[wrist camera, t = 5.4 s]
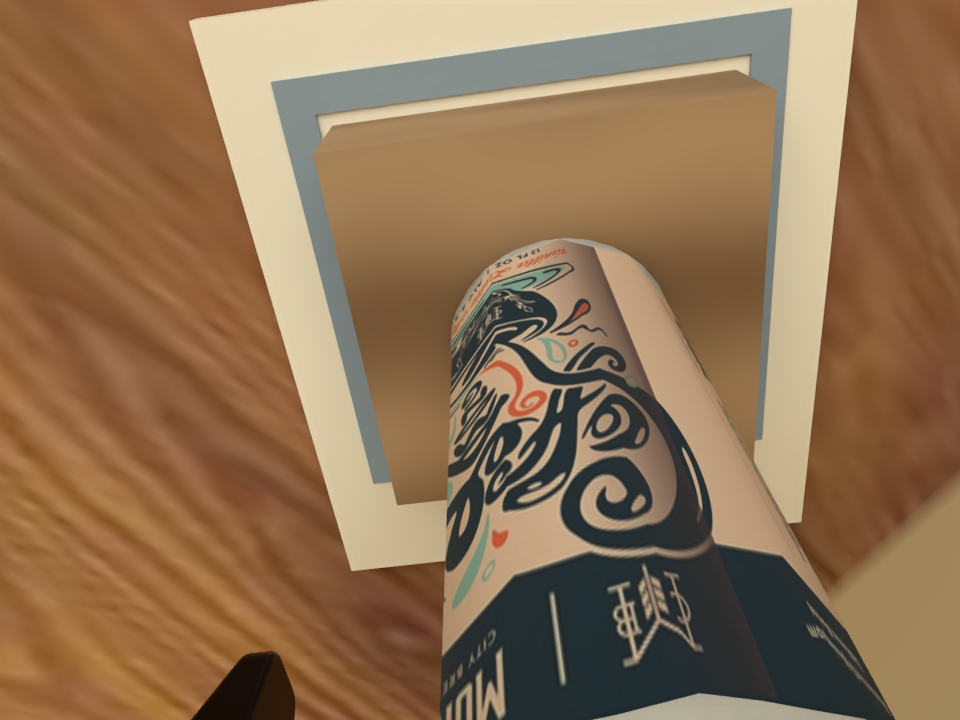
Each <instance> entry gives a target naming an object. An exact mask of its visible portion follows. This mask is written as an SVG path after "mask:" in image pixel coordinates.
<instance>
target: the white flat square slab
mask: <svg viewBox="0 0 960 720" xmlns="http://www.w3.org/2000/svg"><path fill="white" fill-rule="evenodd" d="M856 9H857V0H319V1H312V2H305V3H299V4H292V5H285V6H278V7H272V8H265V9H258V10H251V11H244V12H238V13H231V14H224V15H217V16H211V17H204V18H197V19H194V20H191V21H189V24H190V27H191V30H192V34H193V37H194V40H195V44H196V47H197V51H198V54H199V57H200V61H201V64H202V67H203V71H204V74H205V78H206V81H207V84H208V88H209V91H210V95H211V98H212V101H213V105H214V108H215V111H216V115H217V118H218V122H219V125H220V128H221V132H222V135H223V138H224V142H225V145H226V149H227V152H228V155H229V159H230V162H231V165H232V169H233V172H234V176H235V179H236V182H237V186H238V189H239V192H240V196H241V199H242V203H243V206H244V209H245V213H246V216H247V219H248V223H249V226H250V230H251V233H252V236H253V240H254V243H255V247H256V250H257V253H258V257H259V260H260V263H261V267H262V270H263V274H264V277H265V280H266V284H267V287H268V290H269V294H270V297H271V301H272V304H273V307H274V311H275V314H276V317H277V321H278V324H279V328H280V331H281V334H282V338H283V341H284V344H285V348H286V351H287V355H288V358H289V361H290V365H291V368H292V371H293V375H294V378H295V382H296V385H297V388H298V392H299V395H300V399H301V402H302V405H303V409H304V412H305V415H306V419H307V422H308V426H309V429H310V432H311V436H312V439H313V442H314V446H315V449H316V453H317V456H318V459H319V463H320V466H321V469H322V473H323V476H324V480H325V483H326V486H327V490H328V493H329V496H330V500H331V503H332V507H333V510H334V513H335V517H336V520H337V523H338V527H339V530H340V534H341V537H342V540H343V544H344V547H345V550H346V554H347V557H348V561H349V564H350V567H351V571H356V570H365V569H375V568H384V567H393V566H402V565H411V564H421V563H430V562H439V561H445V550H446V520H447V500H441V501H432V502H423V503H415V504H406V505H397V503H396V498H395V494H394V490H393V486H392V482H391V478H390V473H389V469H388V465H387V461H386V457H385V453H384V448H383V444H382V440H381V436H380V432H379V428H378V423H377V419H376V415H375V411H374V407H373V403H372V398H371V394H370V390H369V386H368V382H367V378H366V373H365V369H364V365H363V361H362V357H361V353H360V349H359V344H358V340H357V336H356V332H355V328H354V324H353V319H352V315H351V311H350V307H349V303H348V299H347V294H346V290H345V286H344V282H343V278H342V274H341V269H340V265H339V261H338V257H337V253H336V249H335V244H334V240H333V236H332V232H331V228H330V224H329V219H328V215H327V211H326V207H325V203H324V199H323V195H322V190H321V186H320V182H319V178H318V174H317V170H316V165H315V161H314V157H313V153H314V151H315V150H316V149H317V147H318V146H319V144H320V143H321V141H322V140H323V138H324V137H325V136H326V134H327V133H328V131H329V130H330V128H331V127H332V126H333V125H341V124H348V123H355V122H362V121H369V120H377V119H384V118H391V117H398V116H405V115H413V114H420V113H427V112H434V111H441V110H449V109H456V108H463V107H470V106H477V105H485V104H492V103H499V102H506V101H513V100H521V99H528V98H535V97H542V96H549V95H557V94H564V93H571V92H578V91H585V90H593V89H600V88H607V87H614V86H621V85H629V84H636V83H643V82H650V81H657V80H664V79H672V78H679V77H686V76H693V75H700V74H708V73H715V72H722V71H729V70H738V71H740V72H742V73H744V74H746V75H748V76H750V77H752V78H754V79H756V80H758V81H760V82H762V83H764V84H766V85H768V86H770V87H772V88H774V89H776V90H777V99H776V114H775V130H774V146H773V162H772V178H771V194H770V210H769V225H768V241H767V257H766V273H765V289H764V305H763V320H762V336H761V352H760V368H759V384H758V400H757V416H756V431H755V447H754V462H755V464H756V466H757V468H758V470H759V472H760V473H761V475H762V477H763V479H764V481H765V482H766V484H767V486H768V488H769V490H770V492H771V493H772V495H773V497H774V499H775V501H776V503H777V504H778V506H779V508H780V510H781V512H782V514H783V515H784V517H785V519H786V521H787V523H797V522H801V519H802V510H803V500H804V491H805V482H806V473H807V463H808V454H809V445H810V436H811V426H812V417H813V408H814V398H815V389H816V380H817V371H818V361H819V352H820V343H821V334H822V324H823V315H824V306H825V296H826V287H827V278H828V269H829V259H830V250H831V241H832V231H833V222H834V213H835V204H836V194H837V185H838V176H839V167H840V157H841V148H842V139H843V129H844V120H845V111H846V102H847V92H848V83H849V74H850V65H851V55H852V46H853V37H854V27H855V18H856Z"/></svg>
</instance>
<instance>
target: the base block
mask: <svg viewBox="0 0 960 720" xmlns="http://www.w3.org/2000/svg"><path fill="white" fill-rule="evenodd" d="M776 99H777V90H776V89H774V88H772V87H770V86H768V85H766V84H764V83H762V82H760V81H758V80H756V79H754V78H752V77H750V76H748V75H746V74H744V73H742V72H740V71H738V70H729V71H722V72H715V73H708V74H700V75H693V76H686V77H679V78H672V79H664V80H657V81H650V82H643V83H636V84H629V85H621V86H614V87H607V88H600V89H593V90H585V91H578V92H571V93H564V94H557V95H549V96H542V97H535V98H528V99H521V100H513V101H506V102H499V103H492V104H485V105H477V106H470V107H463V108H456V109H449V110H441V111H434V112H427V113H420V114H413V115H405V116H398V117H391V118H384V119H377V120H369V121H362V122H355V123H348V124H341V125H333V126H332V127H331V128H330V130H329V131H328V133H327V134H326V136H325V137H324V138H323V140H322V141H321V143H320V144H319V146H318V147H317V149H316V150H315V151H314V153H313V157H314V161H315V165H316V170H317V174H318V178H319V182H320V186H321V190H322V195H323V199H324V203H325V207H326V211H327V215H328V219H329V224H330V228H331V232H332V236H333V240H334V244H335V249H336V253H337V257H338V261H339V265H340V269H341V274H342V278H343V282H344V286H345V290H346V294H347V299H348V303H349V307H350V311H351V315H352V319H353V324H354V328H355V332H356V336H357V340H358V344H359V349H360V353H361V357H362V361H363V365H364V369H365V373H366V378H367V382H368V386H369V390H370V394H371V398H372V403H373V407H374V411H375V415H376V419H377V423H378V428H379V432H380V436H381V440H382V444H383V448H384V453H385V457H386V461H387V465H388V469H389V473H390V478H391V482H392V486H393V490H394V494H395V498H396V503H397V505H406V504H415V503H423V502H432V501H441V500H447V490H448V459H449V429H450V399H451V369H452V349H451V332H452V324H453V319H454V316H455V313H456V310H457V309H458V307H459V305H460V303H461V301H462V299H463V297H464V295H465V294H466V292H467V290H468V288H469V287H470V286H471V285H472V283H473V282H474V281H475V280H476V279H477V278H478V277H479V275H480V274H481V273H482V272H483V271H484V270H485V269H486V268H488V267H489V266H490V265H492V264H493V263H494V262H496V261H497V260H499V259H500V258H501V257H503V256H504V255H506V254H508V253H510V252H512V251H513V250H516V249H519V248H522V247H525V246H528V245H531V244H534V243H537V242H540V241H543V240H552V239H560V238H573V239H586V240H591V241H595V242H599V243H602V244H606V245H609V246H612V247H614V248H616V249H618V250H620V251H622V252H624V253H626V254H627V255H629V256H631V257H632V258H633V259H635V260H636V261H637V262H639V263H640V264H641V265H643V266H644V267H645V269H646V270H647V271H648V272H649V273H650V274H651V276H652V277H653V278H654V279H655V280H656V282H657V283H658V285H659V287H660V289H661V291H662V293H663V295H664V297H665V299H666V301H667V303H668V305H669V307H670V309H671V310H672V312H673V314H674V316H675V318H676V320H677V321H678V323H679V325H680V327H681V329H682V331H683V332H684V334H685V336H686V338H687V340H688V342H689V343H690V345H691V347H692V349H693V351H694V353H695V354H696V356H697V358H698V360H699V362H700V364H701V365H702V367H703V369H704V371H705V373H706V375H707V376H708V378H709V380H710V382H711V384H712V385H713V387H714V389H715V391H716V393H717V395H718V396H719V398H720V400H721V402H722V404H723V406H724V407H725V409H726V411H727V413H728V415H729V417H730V418H731V420H732V422H733V424H734V426H735V428H736V429H737V431H738V433H739V435H740V437H741V439H742V440H743V442H744V444H745V446H746V448H747V450H748V451H749V453H750V455H751V457H752V459H753V461H754V447H755V431H756V416H757V400H758V384H759V368H760V352H761V336H762V320H763V305H764V289H765V273H766V257H767V241H768V225H769V210H770V194H771V178H772V162H773V146H774V130H775V114H776Z"/></svg>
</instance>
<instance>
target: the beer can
mask: <svg viewBox="0 0 960 720" xmlns="http://www.w3.org/2000/svg"><path fill="white" fill-rule="evenodd" d="M451 349H452V369H451V399H450V429H449V459H448V490H447V520H446V550H445V581H444V611H443V641H442V671H441V702H440V720H895V719H894V717H893V715H892V713H891V711H890V709H889V708H888V706H887V704H886V702H885V701H884V699H883V697H882V695H881V693H880V691H879V689H878V687H877V686H876V684H875V682H874V680H873V678H872V677H871V675H870V673H869V671H868V669H867V667H866V666H865V664H864V662H863V660H862V658H861V656H860V655H859V653H858V651H857V649H856V647H855V645H854V644H853V642H852V640H851V638H850V636H849V634H848V633H847V631H846V629H845V627H844V625H843V623H842V622H841V620H840V618H839V616H838V614H837V612H836V611H835V609H834V607H833V605H832V603H831V601H830V600H829V598H828V596H827V594H826V592H825V590H824V589H823V587H822V585H821V583H820V581H819V579H818V578H817V576H816V574H815V572H814V570H813V569H812V567H811V565H810V563H809V561H808V559H807V558H806V556H805V554H804V552H803V550H802V548H801V547H800V545H799V543H798V541H797V539H796V537H795V536H794V534H793V532H792V530H791V528H790V526H789V525H788V523H787V521H786V519H785V517H784V515H783V514H782V512H781V510H780V508H779V506H778V504H777V503H776V501H775V499H774V497H773V495H772V493H771V492H770V490H769V488H768V486H767V484H766V482H765V481H764V479H763V477H762V475H761V473H760V472H759V470H758V468H757V466H756V464H755V462H754V461H753V459H752V457H751V455H750V453H749V451H748V450H747V448H746V446H745V444H744V442H743V440H742V439H741V437H740V435H739V433H738V431H737V429H736V428H735V426H734V424H733V422H732V420H731V418H730V417H729V415H728V413H727V411H726V409H725V407H724V406H723V404H722V402H721V400H720V398H719V396H718V395H717V393H716V391H715V389H714V387H713V385H712V384H711V382H710V380H709V378H708V376H707V375H706V373H705V371H704V369H703V367H702V365H701V364H700V362H699V360H698V358H697V356H696V354H695V353H694V351H693V349H692V347H691V345H690V343H689V342H688V340H687V338H686V336H685V334H684V332H683V331H682V329H681V327H680V325H679V323H678V321H677V320H676V318H675V316H674V314H673V312H672V310H671V309H670V307H669V305H668V303H667V301H666V299H665V297H664V295H663V293H662V291H661V289H660V287H659V285H658V283H657V282H656V280H655V279H654V278H653V277H652V276H651V274H650V273H649V272H648V271H647V270H646V269H645V267H644V266H643V265H641V264H640V263H639V262H637V261H636V260H635V259H633V258H632V257H631V256H629V255H627V254H626V253H624V252H622V251H620V250H618V249H616V248H614V247H612V246H609V245H606V244H602V243H599V242H595V241H591V240H586V239H573V238H560V239H552V240H543V241H540V242H537V243H534V244H531V245H528V246H525V247H522V248H519V249H516V250H513V251H512V252H510V253H508V254H506V255H504V256H503V257H501V258H500V259H499V260H497V261H496V262H494V263H493V264H492V265H490V266H489V267H488V268H486V269H485V270H484V271H483V272H482V273H481V274H480V275H479V277H478V278H477V279H476V280H475V281H474V282H473V283H472V285H471V286H470V287H469V288H468V290H467V292H466V294H465V295H464V297H463V299H462V301H461V303H460V305H459V307H458V309H457V310H456V313H455V316H454V319H453V324H452V332H451Z"/></svg>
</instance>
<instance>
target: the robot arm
mask: <svg viewBox="0 0 960 720" xmlns="http://www.w3.org/2000/svg"><path fill="white" fill-rule="evenodd" d="M294 717H295V696H294V692H293V689H292V686H291V683H290V681H289V678H288V676H287V673H286V671H285V668H284V665H283V663H282V660H281V658H280V656H279V655H278V654H277V653H276V652H274V651H268V652H258V653H250V654H247V655H245V656H243V657H242V658H241V659H240V660H239V661H238V662H237V664H236V665H235V666H234V667H233V668H232V670H231V671H230V672H229V673H228V675H227V676H226V677H225V678H224V680H223V681H222V682H221V683H220V685H219V686H218V687H217V688H216V689H215V691H214V692H213V693H212V694H211V696H210V697H209V698H208V699H207V701H206V702H205V703H204V704H203V706H202V707H201V708H200V709H199V710H198V712H197V713H196V714H195V715H194V717H193V718H192V719H191V720H294Z"/></svg>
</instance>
